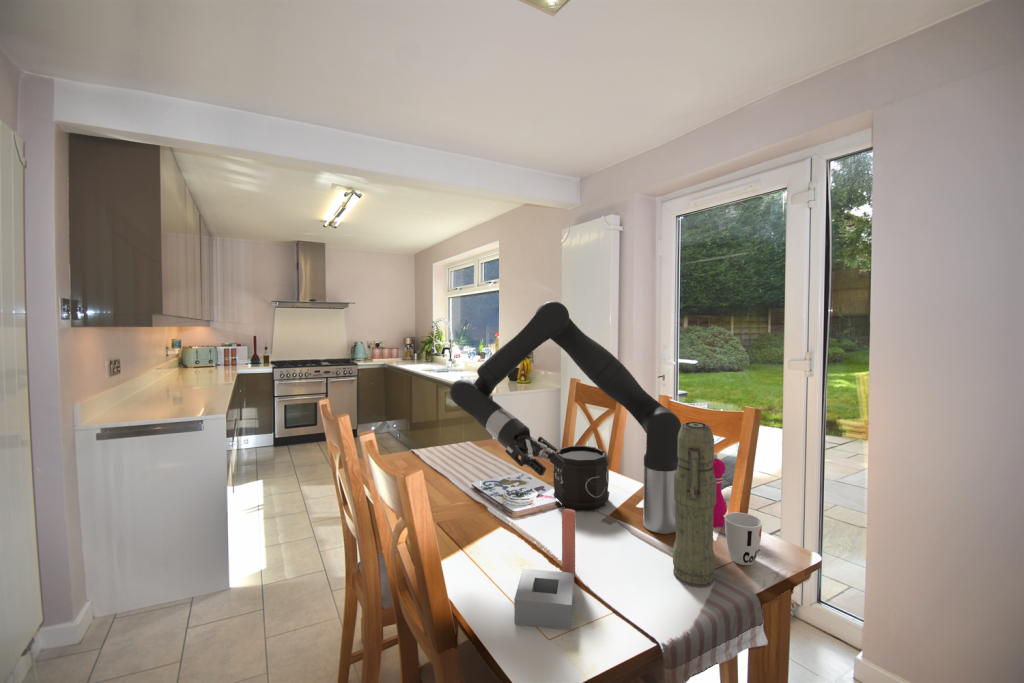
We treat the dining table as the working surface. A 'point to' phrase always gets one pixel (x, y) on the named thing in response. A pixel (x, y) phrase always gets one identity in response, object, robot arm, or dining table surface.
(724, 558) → the dining table surface
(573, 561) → the pin
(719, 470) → the pepper mill
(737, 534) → the cup
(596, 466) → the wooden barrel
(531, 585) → the socket block
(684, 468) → the thermos
